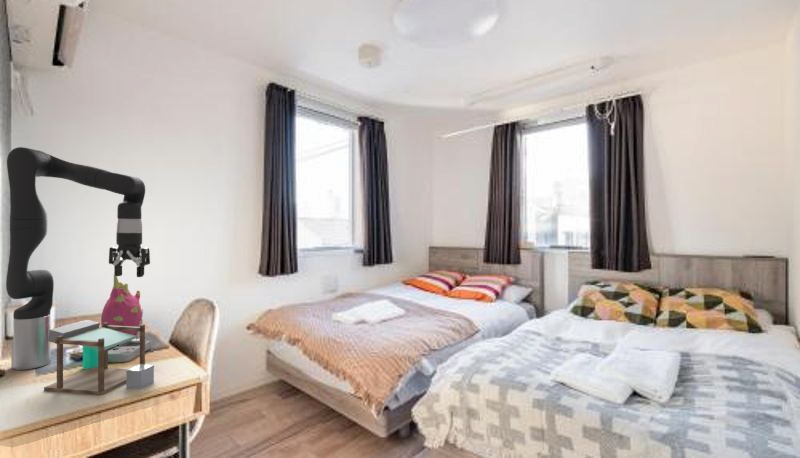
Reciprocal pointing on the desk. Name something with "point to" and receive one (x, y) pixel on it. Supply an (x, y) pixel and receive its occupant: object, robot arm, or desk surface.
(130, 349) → the handheld gaming device
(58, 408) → the desk surface
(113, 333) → the trapdoor
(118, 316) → the pink dragon fruit
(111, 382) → the frame
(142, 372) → the grey rectangular block
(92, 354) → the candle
